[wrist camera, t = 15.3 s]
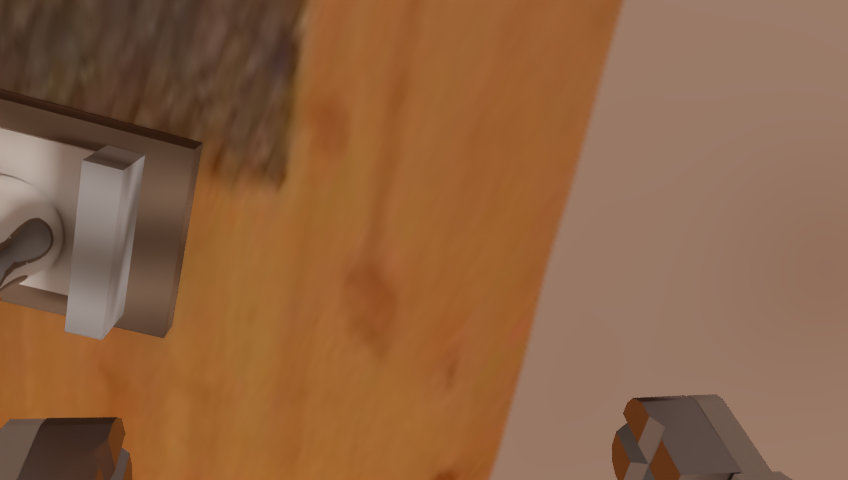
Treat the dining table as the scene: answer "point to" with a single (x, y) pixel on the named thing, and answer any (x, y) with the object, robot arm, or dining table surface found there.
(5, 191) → the beer glass
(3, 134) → the rail board
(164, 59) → the dining table surface
